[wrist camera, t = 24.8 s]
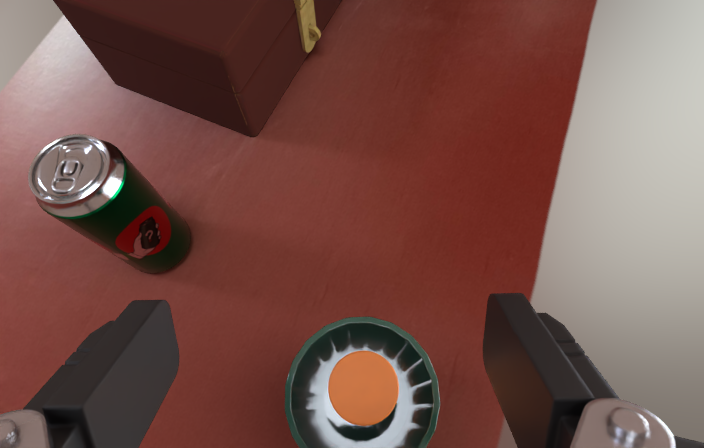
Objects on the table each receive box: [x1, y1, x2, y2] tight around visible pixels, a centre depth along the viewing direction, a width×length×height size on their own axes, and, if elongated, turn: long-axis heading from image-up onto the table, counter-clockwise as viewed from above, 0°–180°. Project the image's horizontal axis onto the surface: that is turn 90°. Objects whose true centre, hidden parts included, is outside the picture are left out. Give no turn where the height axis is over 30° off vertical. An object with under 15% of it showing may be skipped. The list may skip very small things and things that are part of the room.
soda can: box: [28, 134, 191, 273], centre depth 29 cm, size 5×5×12 cm
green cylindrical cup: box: [285, 317, 440, 448], centre depth 25 cm, size 7×7×11 cm
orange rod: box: [328, 351, 399, 426], centre depth 22 cm, size 2×2×16 cm
